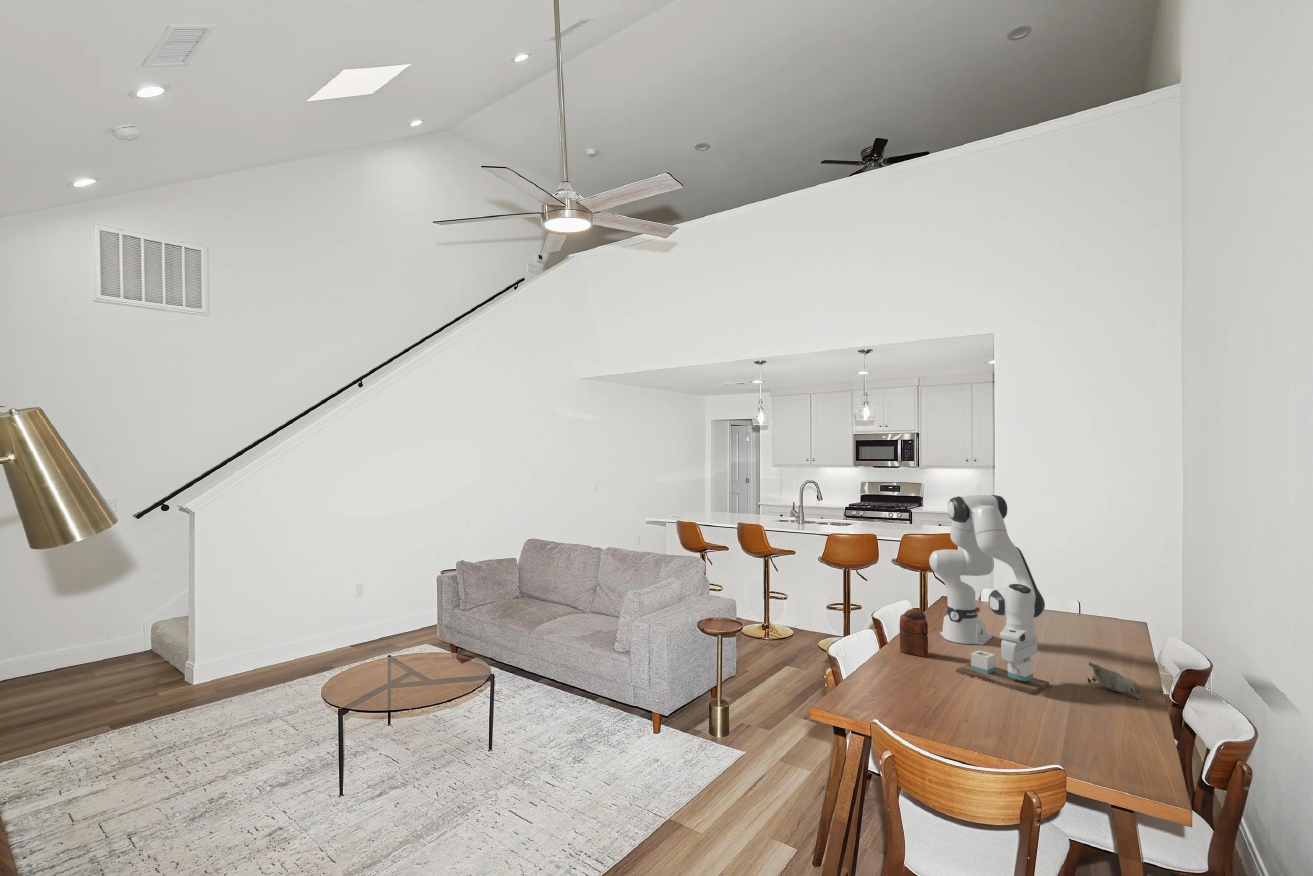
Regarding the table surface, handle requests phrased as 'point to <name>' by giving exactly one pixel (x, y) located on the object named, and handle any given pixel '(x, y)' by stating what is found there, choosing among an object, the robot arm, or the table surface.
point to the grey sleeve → (983, 662)
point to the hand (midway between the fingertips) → (1020, 670)
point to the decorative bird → (1114, 680)
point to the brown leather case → (914, 633)
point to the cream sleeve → (1022, 670)
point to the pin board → (1006, 679)
